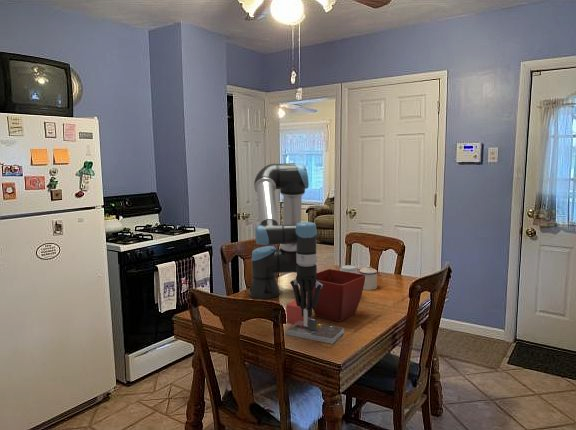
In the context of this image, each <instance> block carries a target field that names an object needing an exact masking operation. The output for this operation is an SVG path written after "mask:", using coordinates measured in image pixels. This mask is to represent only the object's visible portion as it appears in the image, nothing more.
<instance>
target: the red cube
mask: <svg viewBox="0 0 576 430" xmlns="http://www.w3.org/2000/svg"><path fill="white" fill-rule="evenodd" d="M285 307H286V308H285V311H286V316H285V319H287V323H292V324H294V323H296V322H297V321H298V320H302V321H304V317H303V316H302V309H301V307H299V306H297V304H296V300H295V299H294V300H292V301H291V302H289V303H287V304H286V305H285ZM306 307H307V306H306ZM311 318H312V317H311ZM311 318H310V319H311Z"/></svg>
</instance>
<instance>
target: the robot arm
mask: <svg viewBox="0 0 576 430" xmlns="http://www.w3.org/2000/svg"><path fill="white" fill-rule="evenodd" d="M309 183H310V182H309V174H308V169H307V167H306V165H305V164H304V163H296V162H294V163H293V162H292V163H290V162H289V163H288V162H287V163H269V164H268V165H265V166H264V167H263V168H261V169H260V170H259V171H258V173H257V174H256V176H255V179H254V184H253V186H254V187H253V188H254V191H255V192H256V195H257V207H258V208H257V209H258V219H259V220H258V221H259V225H256V226H255V228H254V231H255V232H254V233H255V234H254V235H255V243H256V244H257V245H259V246H261V247H257V248H255V249H253V250H252V251H251V275H252V276H251V279H252V280H251V283H250V286H249V289H248V295H249V297H250V298H254V299H261V300H263V299H264V300H265V299H267V300H268V299H272V298H276V297H278V296H280V294H281V292H280V291H281V290H280V286H279V284H278V279H277V274H284V273H285V274H286V273H287V274H288V273H291V274H292V273H294V274H296V276H295V279H293V280H291V281H290V282H289V283H290V285H291V287H292V291H293V295H294V300H296V304H297V306H299V307H301V309H302V316H303V317H304V326H308V320H309V319H310V318H312V317H313V309H314V308H315V307H317V304H318V300H319V296H320V291H321V288H322V287H323V283H319V282H318V279H317V277H316V275H317V273H318V272H317V269H318V268H317V267H318V266H317V263H318V262H317V261H318V260H317V259H318V258H317V234H318V231H317V225H316V223H315V222H310V221H302V201H303V200H302V199H303V195H305V193H306V190H307V189H308V188H309V185H310V184H309ZM276 190H279V193H280V195H282V196H283V197H282V198H283V199H282V200H283V201H282V202H283V203H282V206H283V207H282V211H283V212H282V213H283V214H282V216H283V217H282V220H283V224H279V218H278V211H277V202H276V201H277V200H276V195H275V191H276ZM262 245H263V246H262ZM276 245H280V246H279V248H278V249H277V248H276ZM315 284H316V290H315V294H314V298H313V287H314V285H315ZM306 306H307V307H306Z"/></svg>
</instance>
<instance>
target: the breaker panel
mask: <svg viewBox="0 0 576 430" xmlns="http://www.w3.org/2000/svg"><path fill="white" fill-rule="evenodd" d="M344 333H345V327H340V326H335V325H334V324H329V325H328V324H323V322H317V329H315V330H310V329H308V326H304V321H302V320H298V321H297V322H296V323H292V325H290V326H289V327H287V328H286V329H285V335H287V336H291V337H296V338H301V339H306V340H311V341H315V342H320V343H326V344H331V345H334V343H336V341H338V340H339V339H340V338H341V337H342V336H343V335H344Z"/></svg>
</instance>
